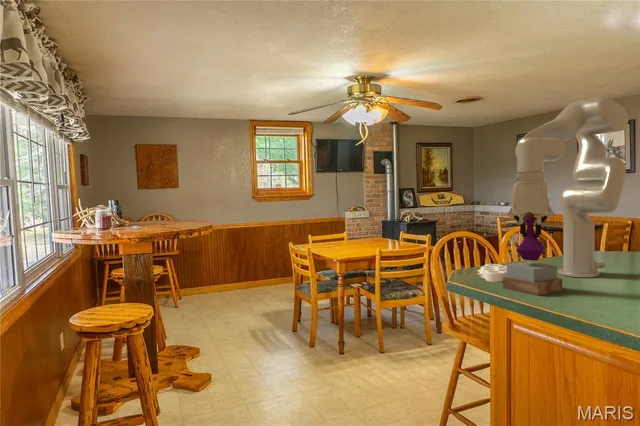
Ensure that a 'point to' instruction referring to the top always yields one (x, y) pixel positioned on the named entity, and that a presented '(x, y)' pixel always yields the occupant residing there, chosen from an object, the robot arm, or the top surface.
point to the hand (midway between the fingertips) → (530, 236)
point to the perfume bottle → (530, 241)
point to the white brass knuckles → (493, 272)
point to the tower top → (532, 271)
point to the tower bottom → (532, 286)
